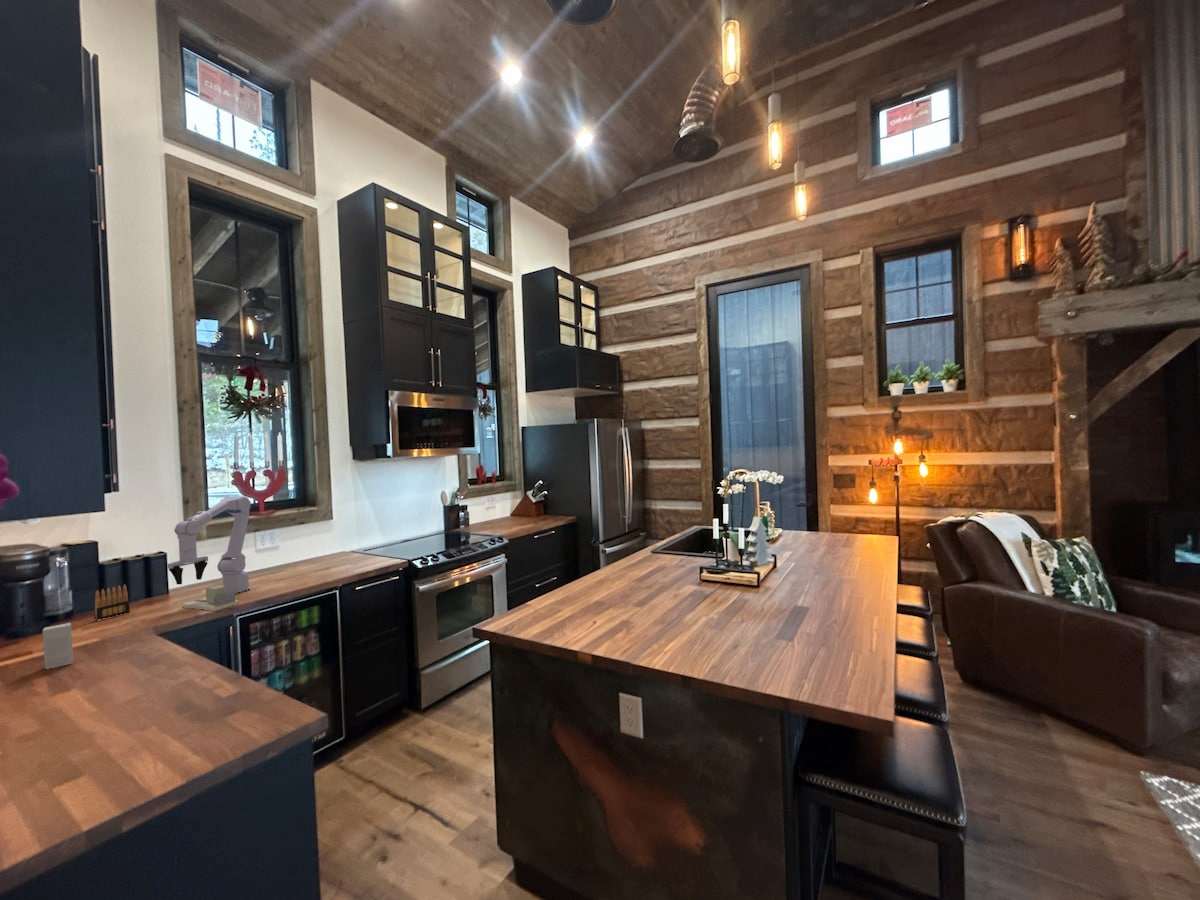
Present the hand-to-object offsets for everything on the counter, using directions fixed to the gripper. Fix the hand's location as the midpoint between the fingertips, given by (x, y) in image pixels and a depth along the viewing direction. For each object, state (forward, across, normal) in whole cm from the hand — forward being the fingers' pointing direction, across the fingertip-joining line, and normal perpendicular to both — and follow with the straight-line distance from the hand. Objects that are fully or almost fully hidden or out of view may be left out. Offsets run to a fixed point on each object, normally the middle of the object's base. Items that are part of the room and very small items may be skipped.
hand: (189, 581), depth 218 cm
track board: (+10, -3, +8) cm, 14 cm away
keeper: (+8, -3, +12) cm, 15 cm away
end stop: (+9, -3, +17) cm, 19 cm away
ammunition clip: (+11, +18, -18) cm, 27 cm away
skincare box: (+11, +53, +26) cm, 60 cm away
